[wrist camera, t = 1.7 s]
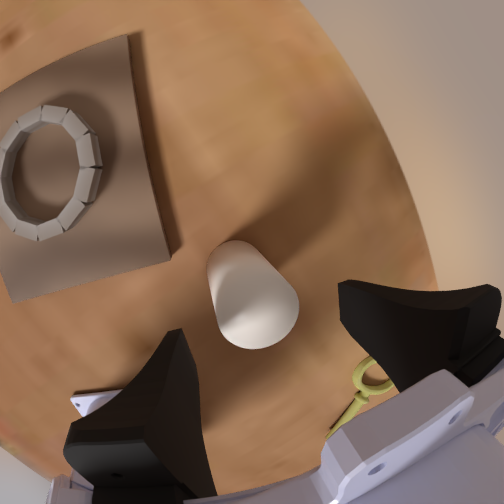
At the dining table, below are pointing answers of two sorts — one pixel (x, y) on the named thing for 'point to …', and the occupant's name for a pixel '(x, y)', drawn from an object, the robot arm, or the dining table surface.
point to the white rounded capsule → (250, 296)
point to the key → (361, 393)
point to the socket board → (75, 176)
